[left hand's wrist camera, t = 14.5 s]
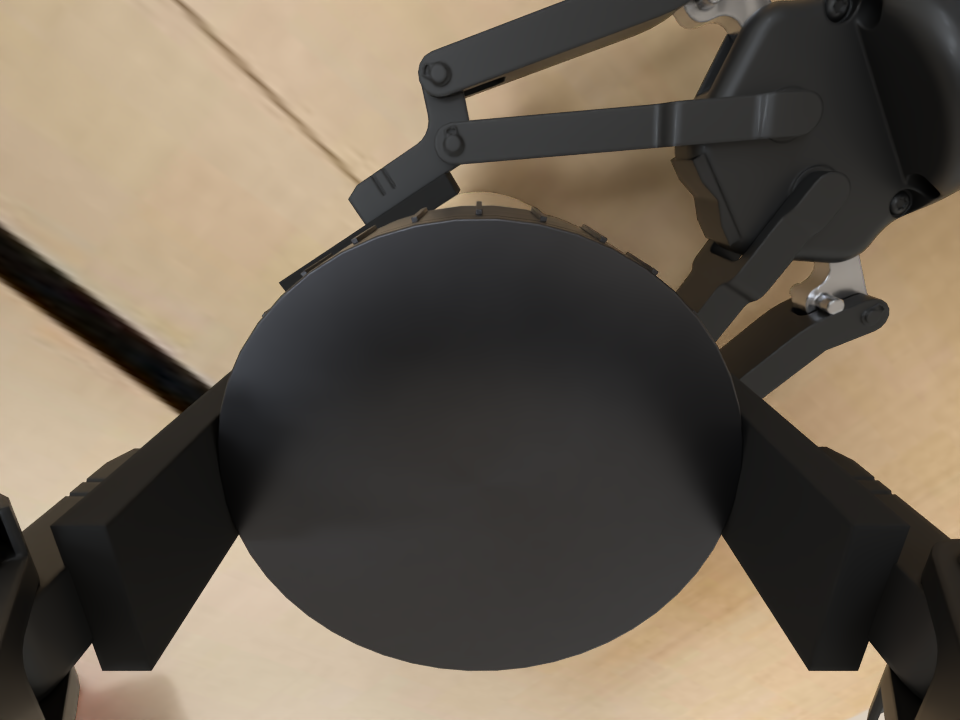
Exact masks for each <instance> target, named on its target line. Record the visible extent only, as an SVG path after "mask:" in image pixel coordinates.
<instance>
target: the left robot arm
mask: <svg viewBox="0 0 960 720" xmlns="http://www.w3.org/2000/svg"><path fill="white" fill-rule="evenodd" d="M231 372H232V371H230V372H229V373H228V374H227V375H226V376H225V377H223V378H222V379H221V380H220V381H219V382H218V383H216V384H215V385H214V386H213V387H212V388H211V389H209V390H208V391H207V392H206V393H205V394H204V395H202V396H201V397H200V398H199V399H198V400H197V401H195V402H194V403H193V404H192V405H191V406H190V407H188V408H187V409H186V410H185V411H184V412H183V413H181V414H180V415H179V416H178V417H177V418H176V419H174V420H173V421H172V422H171V423H170V424H169V425H167V426H166V427H165V428H164V429H163V430H162V431H160V432H159V433H158V434H157V435H156V436H154V437H153V438H152V439H151V440H150V441H149V442H147V443H146V444H145V445H144V446H143V447H142V448H140V449H133V450H131V451H129V452H127V453H125V454H123V455H121V456H119V457H117V458H115V459H113V460H111V461H109V462H107V463H106V464H105V465H103V466H102V467H101V468H100V469H98V470H97V471H96V472H95V473H94V474H92V475H91V476H90V477H89V478H87V482H83V483H81V484H80V485H79V486H78V487H76V488H75V489H74V490H73V491H71V492H70V496H65V497H64V498H63V499H62V500H60V501H59V502H58V503H57V504H56V505H54V506H53V507H52V508H51V509H49V510H48V511H47V512H46V513H45V514H43V515H42V516H41V517H40V518H38V519H37V520H36V521H35V522H34V523H32V524H31V525H30V526H29V527H27V528H26V529H25V530H24V531H21V529H20V526H19V523H18V521H17V518H16V516H15V513H14V511H13V508H12V505H11V503H10V500H9V498H8V497H6V496H4V495H2V494H0V720H75V718H76V711H77V704H78V696H79V689H80V685H79V680H78V675H77V673H76V670H75V668H74V665H75V664H76V662H77V661H78V660H79V659H80V657H81V656H82V655H83V654H84V652H85V651H86V650H87V649H88V647H89V646H90V645H91V644H93V646H94V649H95V652H96V655H97V657H98V660H99V663H100V666H101V668H102V671H152V669H153V668H154V666H155V664H156V663H157V661H158V660H159V658H160V657H161V655H162V654H163V652H164V650H165V649H166V647H167V646H168V644H169V643H170V641H171V639H172V638H173V636H174V635H175V633H176V632H177V630H178V629H179V627H180V625H181V624H182V622H183V621H184V619H185V618H186V616H187V614H188V613H189V611H190V610H191V608H192V607H193V605H194V604H195V602H196V600H197V599H198V597H199V596H200V594H201V593H202V591H203V590H204V588H205V586H206V585H207V583H208V582H209V580H210V579H211V577H212V575H213V574H214V572H215V571H216V569H217V568H218V566H219V565H220V563H221V561H222V560H223V558H224V557H225V555H226V554H227V552H228V551H229V549H230V547H231V546H232V544H233V543H234V541H235V540H236V538H237V536H238V535H239V533H238V532H237V530H236V528H235V525H234V522H233V520H232V517H231V514H230V512H229V509H228V507H227V504H226V500H225V495H224V491H223V486H222V481H221V477H220V472H219V463H218V448H217V439H218V428H219V416H220V409H221V405H222V401H223V397H224V393H225V389H226V385H227V381H228V379H229V376H230V374H231ZM729 372H730V371H729ZM730 374H731V377H732V380H733V384H734V388H735V391H736V395H737V399H738V402H739V406H740V413H741V422H742V431H743V455H742V468H741V473H740V478H739V483H738V488H737V493H736V497H735V501H734V505H733V507H732V510H731V513H730V516H729V519H728V522H727V524H726V526H725V528H724V530H723V532H722V536H723V538H724V539H725V541H726V542H727V544H728V545H729V547H730V548H731V550H732V552H733V553H734V555H735V556H736V558H737V559H738V561H739V562H740V564H741V566H742V567H743V569H744V570H745V572H746V573H747V575H748V577H749V578H750V580H751V581H752V583H753V584H754V586H755V587H756V589H757V591H758V592H759V594H760V595H761V597H762V598H763V600H764V602H765V603H766V605H767V606H768V608H769V609H770V611H771V612H772V614H773V616H774V617H775V619H776V620H777V622H778V623H779V625H780V626H781V628H782V630H783V631H784V633H785V634H786V636H787V637H788V639H789V641H790V642H791V644H792V645H793V647H794V648H795V650H796V651H797V653H798V655H799V656H800V658H801V659H802V661H803V662H804V664H805V666H806V667H807V669H808V670H809V671H858V669H859V667H860V664H861V661H862V658H863V656H864V653H865V650H866V647H867V645H868V642H869V641H870V643H871V644H872V645H873V646H874V648H875V649H876V650H877V651H878V653H879V654H880V655H881V656H882V658H883V659H884V660H885V661H886V663H887V665H886V668H885V670H884V673H883V675H882V678H881V680H880V683H879V686H878V688H877V691H876V693H875V696H874V698H873V701H872V704H871V706H870V709H869V712H868V717H867V720H878V718H879V716H880V714H881V713H883V712H884V716H885V720H960V539H950V538H949V537H948V536H946V535H945V534H944V533H943V532H941V531H940V530H939V529H938V528H936V527H935V526H934V525H933V524H931V523H930V522H929V521H928V520H927V519H925V518H924V517H923V516H922V515H920V514H919V513H918V512H917V511H915V510H914V509H913V508H912V507H911V506H909V505H908V504H907V503H906V502H904V501H903V500H902V499H901V498H899V497H898V496H897V495H896V494H891V490H890V489H888V488H887V487H886V486H885V485H883V484H882V483H881V482H880V481H878V480H874V477H873V476H872V475H871V474H870V473H869V472H867V471H866V470H865V469H864V468H862V467H861V466H860V465H859V464H857V463H856V462H855V461H854V460H852V459H850V458H848V457H846V456H844V455H842V454H840V453H838V452H836V451H834V450H832V449H830V448H828V447H818V446H816V445H815V444H814V443H813V442H812V441H811V440H809V439H808V438H807V437H806V436H805V435H804V434H802V433H801V432H800V431H799V430H798V429H797V428H795V427H794V426H793V425H792V424H791V423H789V422H788V421H787V420H786V419H785V418H784V417H782V416H781V415H780V414H779V413H778V412H777V411H775V410H774V409H773V408H772V407H771V406H770V405H768V404H767V403H766V402H765V401H764V400H763V399H761V398H760V397H759V396H758V395H757V394H756V393H754V392H753V391H752V390H751V389H750V388H749V387H747V386H746V385H745V384H744V383H743V382H742V381H740V380H739V379H738V378H737V377H736V376H735V375H733V374H732V373H731V372H730Z"/></svg>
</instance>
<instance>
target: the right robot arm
mask: <svg viewBox="0 0 960 720" xmlns="http://www.w3.org/2000/svg"><path fill="white" fill-rule="evenodd" d="M671 15H674V17H675V19H676V21H677V22H678V23H679V25H680V26H682V27H683V28H686V29H696V28H699V27H701V26H703V25H705V24H708V23H715V24H719V25H721V26H722V27H724V29H725V30H726V31H727V35H726V37H725V38H724V40H723V42H722V44H721V46H720V48H719V50H718V52H717V54H716V56H715V58H714V60H713V62H712V64H711V66H710V68H709V70H708V72H707V74H706V76H705V78H704V80H703V82H702V84H701V86H700V88H699V90H698V92H697V94H696V96H695V98H694V100H684V101H675V102H668V103H661V104H653V105H641V106H630V107H618V108H607V109H595V110H584V111H573V112H561V113H550V114H538V115H527V116H516V117H504V118H493V119H481V120H470V121H469V116H468V111H467V106H466V101H465V98H467V97H470V96H473V95H475V94H478V93H481V92H483V91H486V90H489V89H492V88H494V87H497V86H500V85H502V84H505V83H508V82H510V81H513V80H516V79H519V78H521V77H524V76H527V75H529V74H532V73H535V72H538V71H540V70H543V69H546V68H548V67H551V66H554V65H557V64H559V63H562V62H565V61H567V60H570V59H573V58H576V57H578V56H581V55H584V54H586V53H589V52H592V51H594V50H597V49H600V48H603V47H605V46H608V45H611V44H613V43H616V42H619V41H622V40H624V39H627V38H630V37H632V36H635V35H638V34H640V33H642V32H644V31H647V30H649V29H651V28H653V27H654V26H656V25H658V24H659V23H661V22H663V21H664V20H666V19H667V18H668V17H670V16H671ZM418 75H419V81H420V83H421V85H422V90H423V94H424V99H425V104H426V108H427V113H428V120H429V122H428V129H427V132H426V134H425V136H424V137H423V139H422V140H421V141H420V142H419V143H418V144H417V145H415V146H414V147H412V148H411V149H409V150H408V151H406V152H405V153H403V154H402V155H401V156H399V157H398V158H396V159H395V160H393V161H392V162H390V163H389V164H387V165H386V166H384V167H383V168H382V169H380V170H379V171H377V172H376V173H374V174H373V175H372V176H370V177H368V178H367V179H365V180H364V181H363V182H361V183H360V184H358V185H357V186H356V188H355V189H354V191H353V193H352V194H351V196H350V197H349V199H348V200H349V201H350V203H351V204H352V206H353V207H354V209H355V210H356V212H357V213H358V215H359V216H360V218H361V219H362V220H363V222H364V223H365V226H363V227H362V228H360V229H359V230H357V231H356V232H354V233H353V234H351V235H350V236H348V237H347V238H345V239H344V240H342V241H341V242H339V243H338V244H336V245H335V246H333V247H332V248H330V249H329V250H327V251H326V252H324V253H323V254H321V255H320V256H318V257H317V258H315V259H314V260H312V261H311V262H309V263H308V264H306V265H305V266H303V267H302V268H300V269H299V270H297V271H296V272H294V273H293V274H291V275H290V276H288V277H287V278H285V279H284V280H282V281H281V282H279V283H280V285H281V286H282V287H283V289H284V290H285V291H287V290H288V289H290V288H291V287H292V286H293V285H294V284H295V283H297V282H298V281H299V280H300V279H301V278H302V277H303V276H302V275H301V273H302V272H303V271H304V270H306V269H307V268H309V267H310V266H312V265H314V264H315V263H317V262H318V261H320V260H321V259H323V258H325V257H326V256H328V255H329V254H331V253H332V254H333V256H334V255H335V254H337V253H338V252H340V251H341V250H343V249H344V248H346V247H347V246H349V245H351V244H352V241H351V240H352V239H353V238H355V237H356V236H358V235H360V234H361V233H363V232H364V231H366V230H367V229H369V228H371V227H372V226H374V225H376V227H377V229H378V228H381V227H383V226H385V225H387V224H390V223H392V222H394V221H396V220H399V219H402V218H405V217H409V216H412V215H415V214H416V213H417V212H418V211H419V210H421V209H422V208H425V207H427V210H428V211H430V210H435V209H436V208H438V207H439V206H441V205H442V204H444V203H445V202H447V201H449V200H450V199H452V198H453V197H455V196H456V195H458V193H459V191H460V188H459V186H458V185H457V183H456V181H455V180H454V178H453V176H452V175H451V173H450V171H452V170H453V169H455V168H456V167H458V166H459V165H461V164H471V163H483V162H495V161H507V160H518V159H530V158H542V157H553V156H565V155H577V154H589V153H600V152H612V151H624V150H636V149H647V148H659V147H672V146H675V158H673V159H672V160H671V162H672V165H673V167H674V169H675V171H676V173H677V176H678V178H679V180H680V181H681V182H682V183H683V185H684V186H685V187H686V188H687V189H688V190H689V191H690V193H691V194H692V195H693V196H694V200H695V207H696V213H697V220H698V222H699V224H700V226H701V229H702V231H703V233H704V235H705V237H706V238H708V239H709V240H708V241H707V243H706V244H705V245H704V247H703V248H702V249H701V251H700V252H699V253H698V255H697V256H696V258H695V259H694V262H693V267H692V271H691V273H690V274H689V276H688V277H687V278H686V280H685V281H684V282H683V284H682V285H681V286H680V288H679V289H678V290H677V292H676V293H677V294H678V295H679V296H680V297H681V299H682V300H683V301H684V302H685V303H686V304H687V305H688V306H689V307H690V308H692V309H693V310H695V312H696V313H697V316H698V317H699V319H700V320H701V322H702V323H703V325H704V326H705V328H706V329H707V331H708V332H709V334H710V335H711V337H712V338H713V340H714V341H715V342H716V341H717V340H718V338H719V337H720V336H721V335H722V333H723V332H724V331H725V330H726V329H727V327H728V326H729V325H730V324H731V322H732V321H733V320H734V319H735V317H736V316H737V315H738V314H739V313H740V311H741V310H742V309H743V308H744V307H745V306H746V305H747V304H748V303H750V302H753V301H756V300H758V299H759V298H761V297H762V296H763V295H764V294H765V293H766V292H767V291H768V290H769V289H770V287H771V286H772V285H773V284H774V283H775V281H776V280H777V279H778V278H779V277H780V275H781V274H782V273H783V272H784V270H785V269H786V268H787V267H788V266H789V264H790V263H791V262H792V261H793V260H796V261H809V262H814V269H813V271H812V273H811V275H810V276H809V277H808V278H807V279H806V280H805V281H803V282H802V283H797V284H795V285H793V286H792V287H791V289H790V296H791V297H792V298H791V299H788V300H786V301H784V302H782V303H780V304H779V305H777V306H775V307H774V308H772V309H770V310H769V311H767V312H766V313H765V314H763V315H762V316H761V317H759V318H758V319H757V320H756V321H754V322H753V323H752V324H751V325H749V326H748V327H747V328H746V329H744V330H743V331H742V332H741V333H740V334H738V335H737V336H736V337H735V338H733V339H732V340H731V341H730V342H728V343H727V344H726V345H725V346H723V347H722V348H721V349H720V352H721V355H722V357H723V359H724V361H725V363H726V366H727V368H728V370H729V371H730V372H731V373H732V374H733V375H735V376H736V377H737V378H738V379H739V380H740V381H742V382H743V383H744V384H745V385H746V386H747V387H749V388H750V389H751V390H752V391H753V392H754V393H756V394H757V395H758V396H759V397H760V398H761V399H762V398H764V397H765V396H766V395H768V394H769V393H770V392H771V391H773V390H774V389H775V388H777V387H778V386H779V385H781V384H782V383H783V382H785V381H786V380H787V379H789V378H790V377H791V376H793V375H794V374H795V373H796V372H798V371H799V370H800V369H802V368H803V367H804V366H806V365H807V364H808V363H810V362H811V361H812V360H814V359H815V358H816V357H818V356H819V355H820V354H822V353H823V352H824V351H825V350H828V349H830V348H833V347H836V346H838V345H841V344H843V343H846V342H848V341H851V340H853V339H856V338H858V337H861V336H863V335H866V334H868V333H871V332H873V331H875V330H877V329H879V328H881V327H882V326H883V324H884V323H885V322H886V321H887V318H888V316H889V307H888V305H887V303H885V302H884V301H883V300H881V299H878V298H875V297H872V296H869V295H868V294H867V291H866V286H865V281H864V276H863V272H862V267H861V262H860V257H859V254H861V253H862V252H863V251H864V250H865V249H866V248H867V247H868V246H869V245H870V244H871V243H872V242H873V240H874V239H875V238H876V236H877V235H878V234H879V233H880V232H881V231H882V230H883V229H884V228H885V227H886V226H888V225H889V224H890V223H891V222H893V221H894V220H896V219H898V218H900V217H902V216H904V215H906V214H909V213H911V212H914V211H916V210H919V209H921V208H924V207H926V206H928V205H931V204H933V203H935V202H937V201H939V200H942V199H944V198H946V197H948V196H949V195H951V194H953V193H955V192H957V191H959V190H960V0H790V1H776V2H771V0H565V1H562V2H559V3H557V4H554V5H552V6H549V7H546V8H544V9H541V10H538V11H536V12H533V13H531V14H528V15H525V16H523V17H520V18H518V19H515V20H512V21H510V22H507V23H504V24H502V25H499V26H497V27H494V28H491V29H489V30H486V31H484V32H481V33H478V34H476V35H473V36H471V37H468V38H465V39H463V40H460V41H457V42H455V43H452V44H450V45H447V46H444V47H442V48H439V49H437V50H434V51H431V52H430V53H428V54H427V55H425V56H424V58H423V59H422V61H421V62H420V65H419V70H418ZM741 255H742V257H741ZM740 257H741V258H740ZM739 258H740V259H739Z"/></svg>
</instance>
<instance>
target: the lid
mask: <svg viewBox="0 0 960 720" xmlns="http://www.w3.org/2000/svg"><path fill="white" fill-rule="evenodd" d="M351 241H352V244H351V245H349V246H347V247H346V248H344V249H343V250H341V251H340V252H338V253H337V254H335V255H334V256H333V254H332V253H331V254H329V255H328V256H326V257H325V258H323V259H321V260H320V261H318V262H317V263H315V264H314V265H312V266H310V267H309V268H307V269H306V270H304V271H303V272H302V273H301V275H302V276H303V277H302V278H301V279H300V280H299V281H298V282H297V283H295V284H294V285H293V286H292V287H291V288H290V289H288V290H287V291H286V292H285V293H284V294H283V295H281V296H280V298H279V299H278V300H277V301H276V302H275V303H274V305H273V306H272V307H271V308H270V309H268V310H267V311H266V312H264V314H263V315H262V319H261V320H260V321H259V322H258V323H257V325H256V327H255V328H254V330H253V331H252V333H251V335H250V336H249V338H248V339H247V341H246V343H245V344H244V346H243V348H242V349H241V351H240V353H239V355H238V358H237V360H236V362H235V365H234V367H233V369H232V372H231V374H230V376H229V379H228V381H227V385H226V389H225V393H224V397H223V401H222V405H221V409H220V416H219V428H218V439H217V448H218V463H219V472H220V477H221V481H222V486H223V491H224V495H225V500H226V504H227V507H228V509H229V512H230V514H231V517H232V520H233V522H234V525H235V528H236V530H237V532H238V533H239V535H240V537H241V539H242V541H243V542H244V544H245V546H246V548H247V550H248V552H249V553H250V555H251V556H252V558H253V559H254V560H255V562H256V563H257V564H258V566H259V567H260V568H261V570H262V571H263V573H264V574H265V575H266V577H267V578H268V579H269V580H270V581H271V582H272V583H273V584H274V585H275V586H276V587H277V588H278V589H279V590H280V592H281V593H282V594H283V595H284V596H285V597H286V598H287V599H289V600H290V601H291V602H292V603H293V604H295V605H296V606H297V607H298V608H299V609H300V610H302V611H303V612H304V613H305V614H306V615H308V616H309V617H311V618H312V619H314V620H315V621H317V622H318V623H320V624H321V625H323V626H324V627H326V628H327V629H329V630H330V631H332V632H334V633H336V634H337V635H339V636H341V637H343V638H345V639H347V640H349V641H351V642H353V643H355V644H357V645H359V646H362V647H364V648H367V649H369V650H372V651H374V652H377V653H379V654H382V655H385V656H388V657H392V658H395V659H399V660H402V661H406V662H409V663H413V664H419V665H424V666H430V667H435V668H442V669H453V670H465V671H498V670H507V669H517V668H526V667H531V666H536V665H541V664H546V663H551V662H555V661H559V660H562V659H565V658H569V657H572V656H575V655H578V654H582V653H584V652H586V651H589V650H591V649H594V648H596V647H598V646H601V645H603V644H606V643H608V642H610V641H612V640H614V639H615V638H617V637H619V636H621V635H623V634H625V633H626V632H628V631H630V630H632V629H634V628H635V627H636V626H638V625H639V624H641V623H642V622H644V621H645V620H647V619H648V618H650V617H651V616H652V615H654V614H655V613H657V612H658V611H659V610H660V609H661V608H662V607H664V606H665V605H666V604H667V603H668V602H669V601H670V600H672V599H673V598H674V597H675V596H676V595H677V594H678V593H679V592H680V591H681V590H682V589H683V588H684V587H685V586H686V585H687V583H688V582H689V581H690V580H691V579H692V578H693V577H694V576H695V575H696V573H697V572H698V571H699V569H700V568H701V566H702V565H703V564H704V562H705V561H706V559H707V558H708V556H709V555H710V554H711V552H712V551H713V549H714V547H715V545H716V543H717V542H718V540H719V538H720V536H721V534H722V532H723V530H724V528H725V526H726V524H727V522H728V519H729V516H730V513H731V510H732V507H733V505H734V501H735V497H736V493H737V488H738V483H739V478H740V473H741V468H742V455H743V431H742V422H741V413H740V406H739V402H738V399H737V395H736V391H735V388H734V384H733V380H732V377H731V374H730V372H729V370H728V368H727V366H726V363H725V361H724V359H723V357H722V355H721V352H720V350H719V348H718V346H717V344H716V343H715V341H714V340H713V338H712V337H711V335H710V334H709V332H708V331H707V329H706V328H705V326H704V325H703V323H702V322H701V320H700V319H699V317H698V316H697V313H696V312H695V310H693V309H692V308H690V307H689V306H688V305H687V304H686V303H685V302H684V301H683V300H682V299H681V297H680V296H679V295H678V294H677V293H676V292H675V291H674V290H673V289H671V288H670V287H669V286H668V285H667V284H665V283H664V282H663V281H662V280H660V279H659V278H658V277H657V276H656V275H657V273H658V271H656V270H655V269H654V268H652V267H651V266H649V265H648V264H646V263H644V262H643V261H641V260H640V259H638V258H637V257H635V256H633V255H632V254H630V253H629V252H627V253H626V254H624V253H623V252H621V251H620V250H618V249H617V248H615V247H614V246H612V245H610V244H609V243H607V242H606V241H607V238H605V237H604V236H602V235H601V234H599V233H597V232H596V231H594V230H593V229H591V228H590V227H588V226H586V225H584V224H583V225H582V227H581V228H580V227H578V226H575V225H573V224H571V223H568V222H566V221H564V220H561V219H559V218H556V217H552V216H549V215H545V214H543V213H542V212H541V211H539V210H538V209H537V208H535V207H531V211H530V210H526V209H518V208H510V207H502V206H494V205H488V206H482V201H477V202H476V206H456V207H450V208H443V209H436V210H430V211H428V210H427V207H425V208H422V209H421V210H419V211H418V212H417V213H416V214H415V215H412V216H409V217H405V218H402V219H399V220H396V221H394V222H392V223H390V224H387V225H385V226H383V227H381V228H378V229H377V227H376V225H374V226H372V227H371V228H369V229H367V230H366V231H364V232H363V233H361V234H360V235H358V236H356V237H355V238H353V239H352V240H351Z"/></svg>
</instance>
